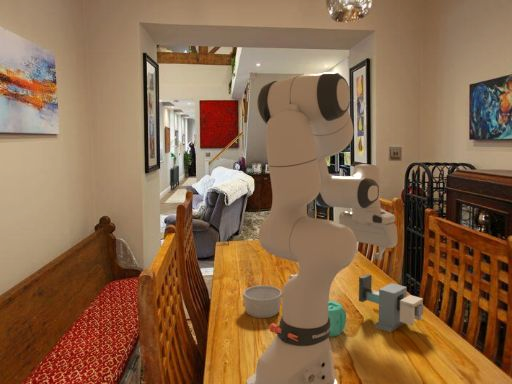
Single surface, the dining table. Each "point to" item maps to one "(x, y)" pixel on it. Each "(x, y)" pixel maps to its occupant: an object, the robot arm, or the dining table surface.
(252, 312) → the ramekin
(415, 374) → the dining table surface
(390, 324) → the bearing block
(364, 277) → the shaft
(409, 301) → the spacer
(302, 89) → the robot arm
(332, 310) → the decorative dice
